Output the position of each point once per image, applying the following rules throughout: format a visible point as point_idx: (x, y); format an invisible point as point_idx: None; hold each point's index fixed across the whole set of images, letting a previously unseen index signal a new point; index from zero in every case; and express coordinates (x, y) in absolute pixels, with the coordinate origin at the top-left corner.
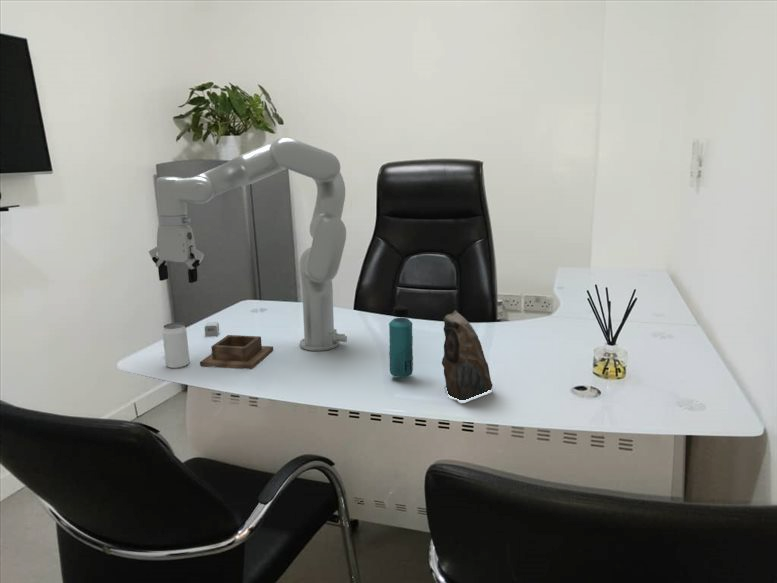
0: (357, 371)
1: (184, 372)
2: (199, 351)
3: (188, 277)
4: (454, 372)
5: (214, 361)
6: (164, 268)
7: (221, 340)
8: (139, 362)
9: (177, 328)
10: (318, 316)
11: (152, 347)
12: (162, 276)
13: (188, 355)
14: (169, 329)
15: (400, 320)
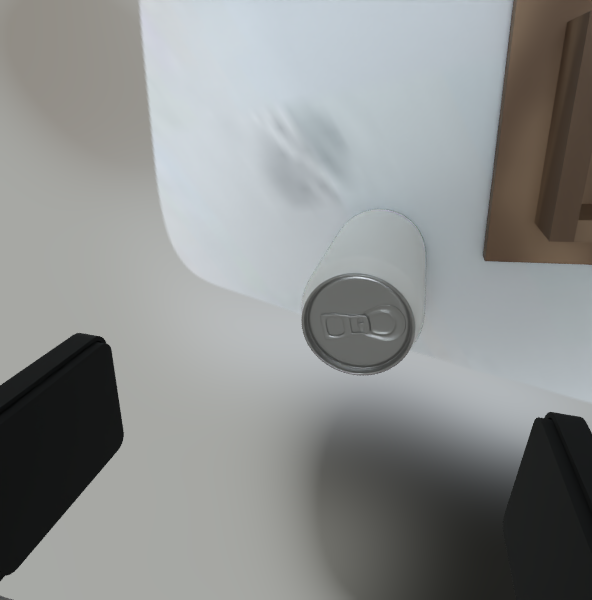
0: None
1: (446, 321)
2: (392, 74)
3: (516, 591)
4: None
5: (555, 248)
6: (8, 496)
7: (577, 134)
8: (220, 247)
9: (399, 358)
10: None
11: (147, 71)
12: (95, 460)
13: (424, 254)
14: (361, 370)
15: None
